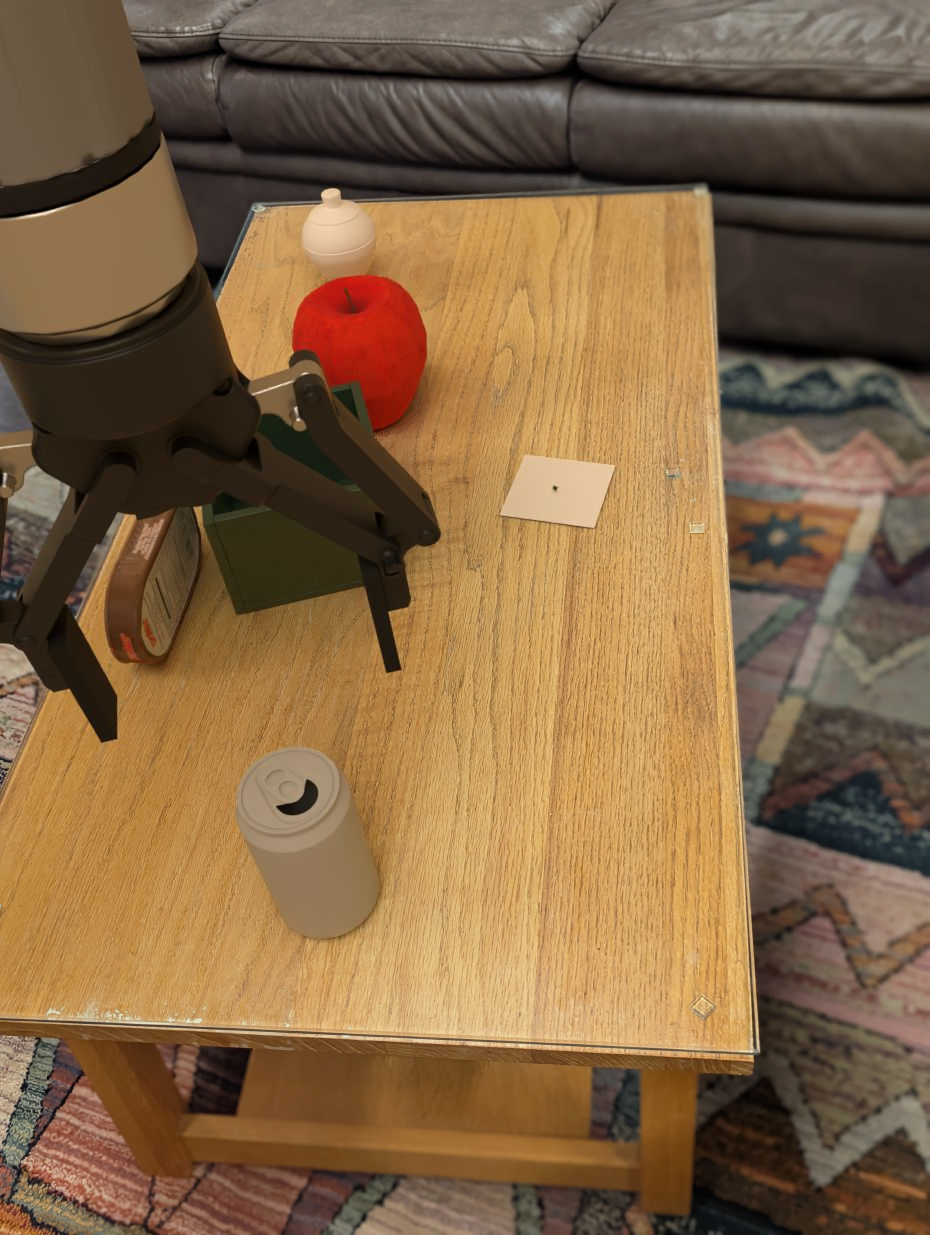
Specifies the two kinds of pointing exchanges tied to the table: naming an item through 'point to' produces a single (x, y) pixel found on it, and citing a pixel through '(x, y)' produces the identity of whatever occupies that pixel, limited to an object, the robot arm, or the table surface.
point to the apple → (366, 340)
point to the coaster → (558, 491)
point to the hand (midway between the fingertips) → (251, 685)
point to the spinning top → (339, 237)
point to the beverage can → (308, 841)
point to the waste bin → (284, 529)
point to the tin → (152, 585)
